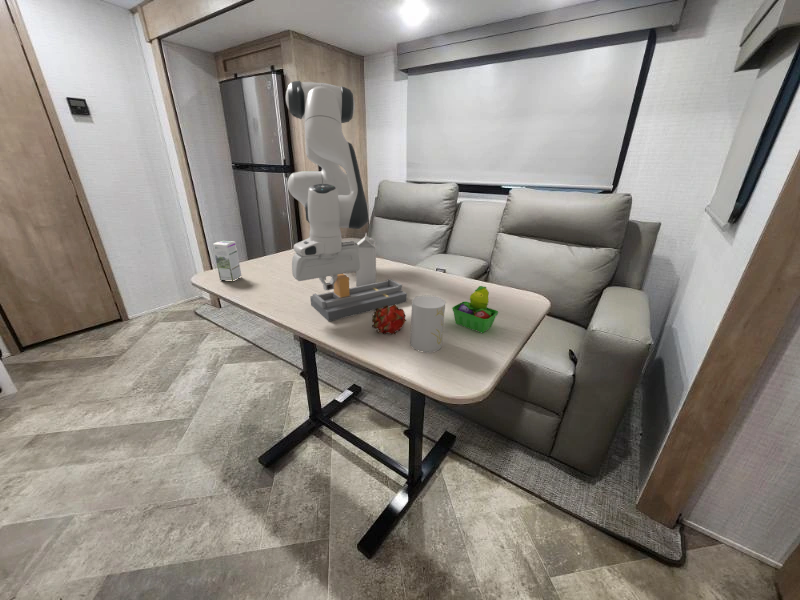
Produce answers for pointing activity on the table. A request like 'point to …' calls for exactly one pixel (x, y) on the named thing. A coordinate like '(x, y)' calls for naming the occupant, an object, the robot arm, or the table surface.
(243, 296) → the table surface
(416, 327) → the cup
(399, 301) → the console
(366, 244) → the milk carton
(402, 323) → the dragon fruit
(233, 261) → the syrup box
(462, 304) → the fruit basket
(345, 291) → the fader
